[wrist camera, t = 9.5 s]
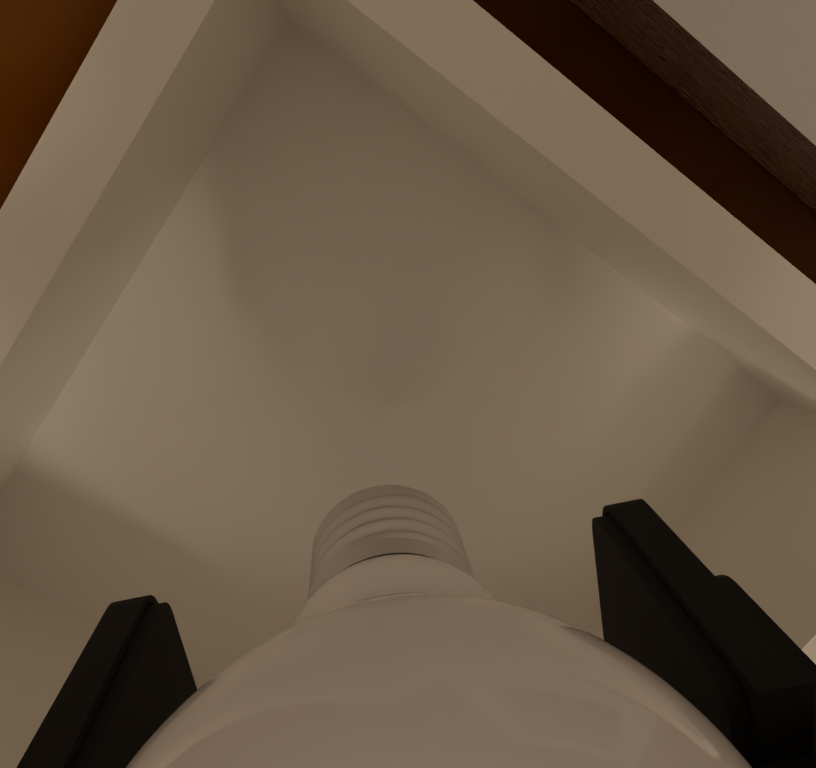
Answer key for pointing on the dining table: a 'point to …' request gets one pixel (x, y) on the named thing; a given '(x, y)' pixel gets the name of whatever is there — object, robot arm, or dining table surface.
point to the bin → (370, 332)
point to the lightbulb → (427, 671)
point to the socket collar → (733, 70)
